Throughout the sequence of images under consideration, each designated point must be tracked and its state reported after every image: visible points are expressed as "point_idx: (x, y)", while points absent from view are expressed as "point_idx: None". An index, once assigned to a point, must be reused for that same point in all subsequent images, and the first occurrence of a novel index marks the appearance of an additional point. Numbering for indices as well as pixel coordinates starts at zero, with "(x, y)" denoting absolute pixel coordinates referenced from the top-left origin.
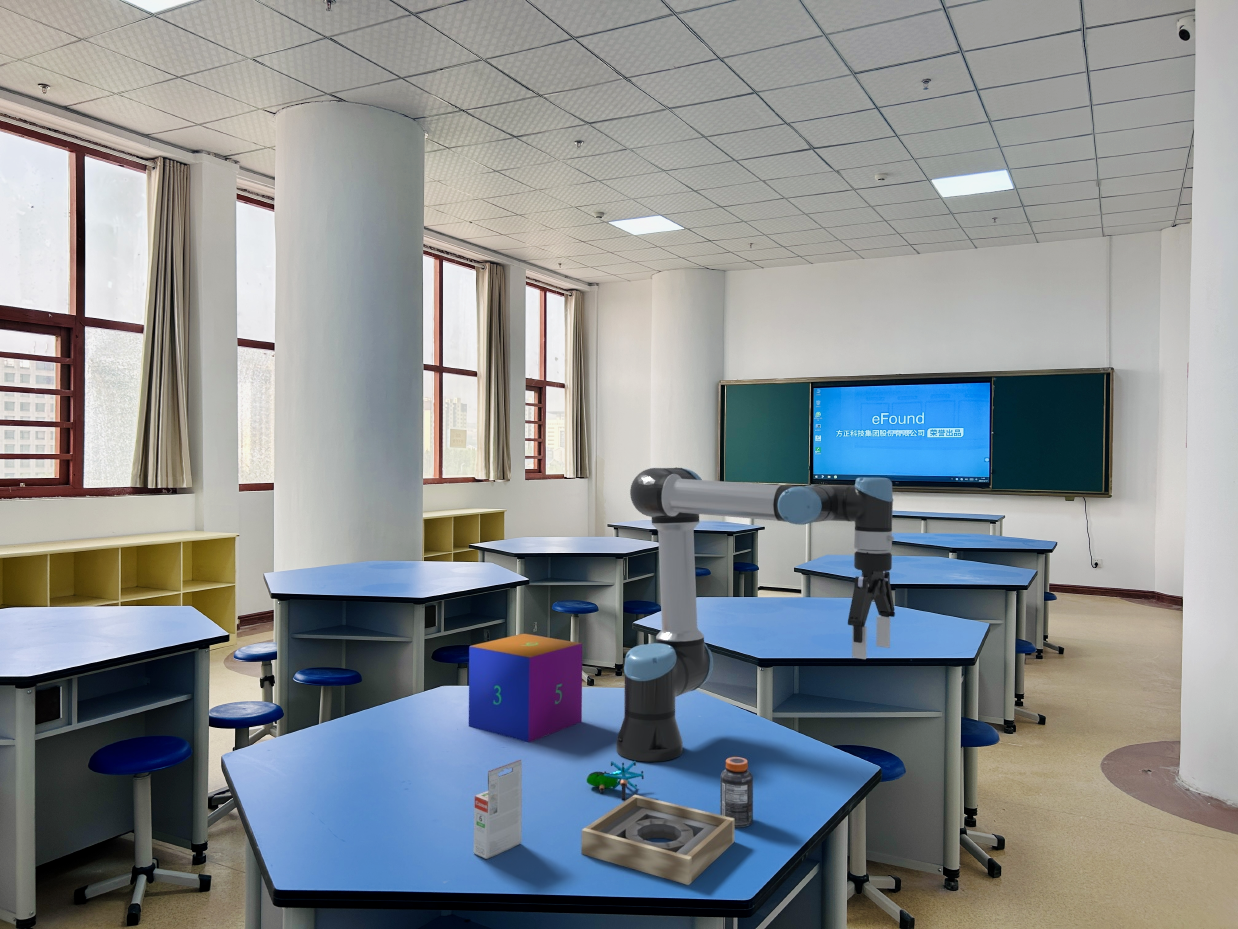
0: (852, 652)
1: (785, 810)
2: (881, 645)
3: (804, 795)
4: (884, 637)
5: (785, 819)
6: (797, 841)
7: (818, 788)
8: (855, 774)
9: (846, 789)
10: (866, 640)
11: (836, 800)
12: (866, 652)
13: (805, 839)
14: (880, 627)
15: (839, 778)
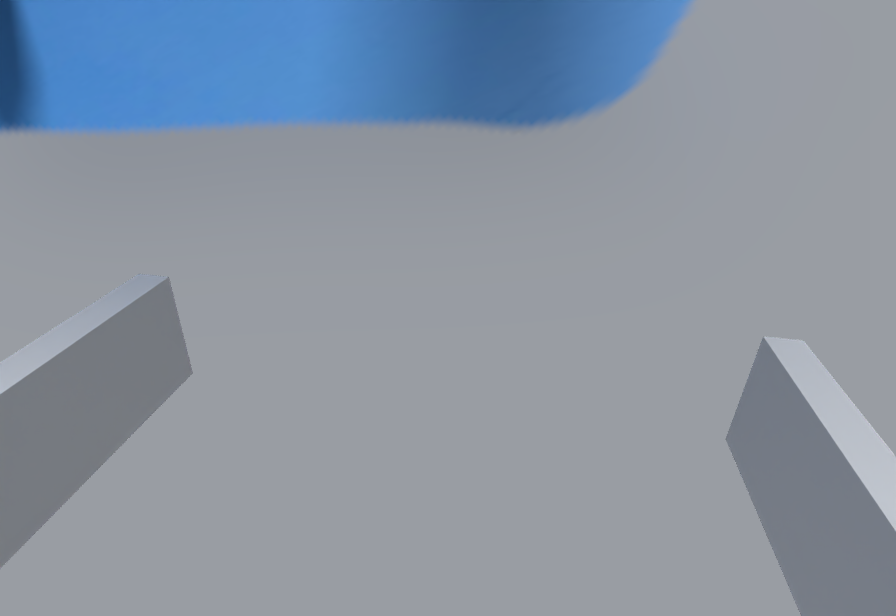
0: (108, 295)
1: (121, 6)
2: (751, 392)
3: (251, 5)
4: (773, 481)
5: (78, 35)
6: (16, 118)
7: (330, 19)
8: (522, 79)
9: (380, 101)
10: (77, 483)
11: (286, 106)
12: (161, 404)
13: (38, 130)
14: (852, 543)
15: (455, 45)
